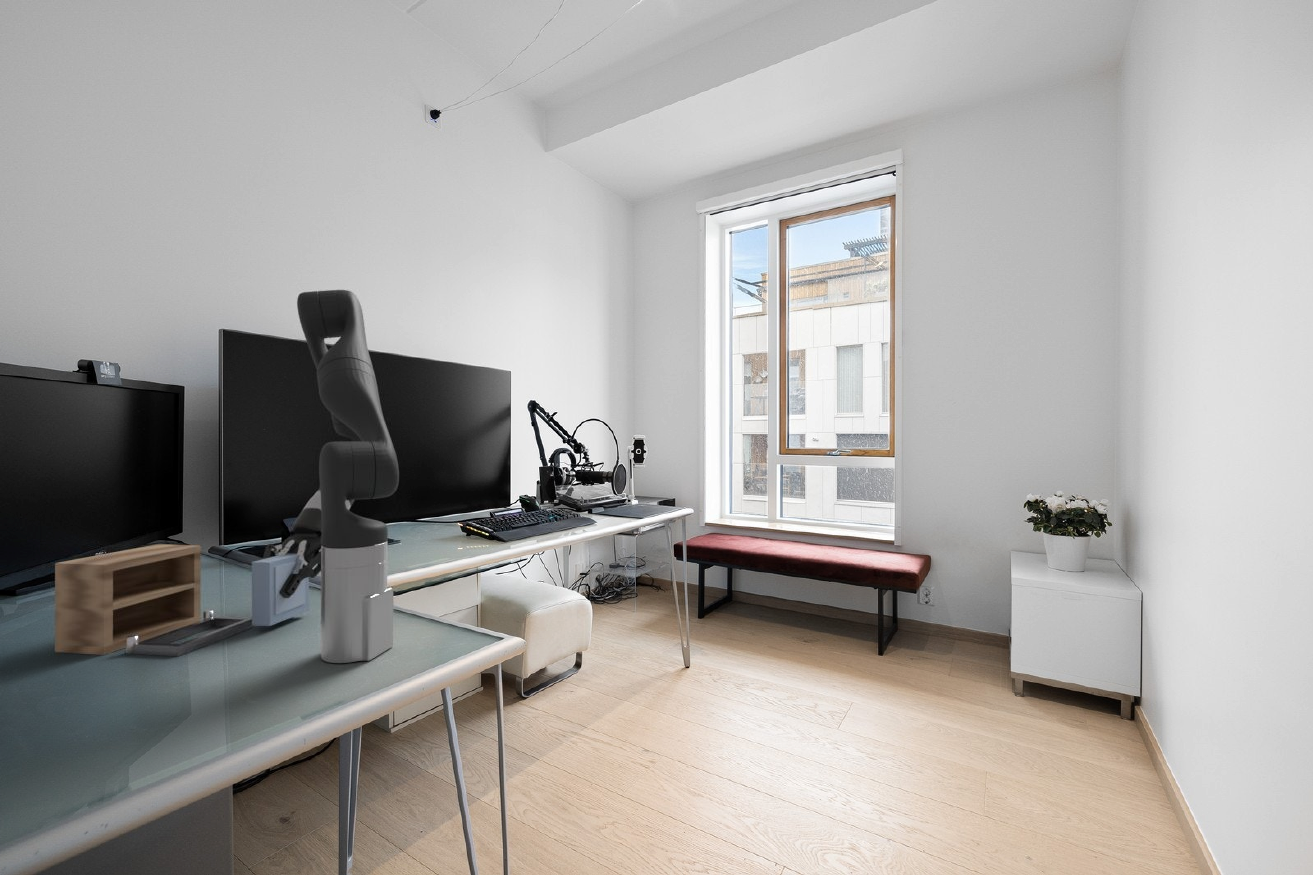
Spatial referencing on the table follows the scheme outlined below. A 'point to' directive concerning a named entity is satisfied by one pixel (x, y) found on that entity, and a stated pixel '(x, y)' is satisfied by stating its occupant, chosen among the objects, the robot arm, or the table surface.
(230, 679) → the table surface
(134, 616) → the cabinet
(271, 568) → the recessed panel box
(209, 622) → the dark grey tray
